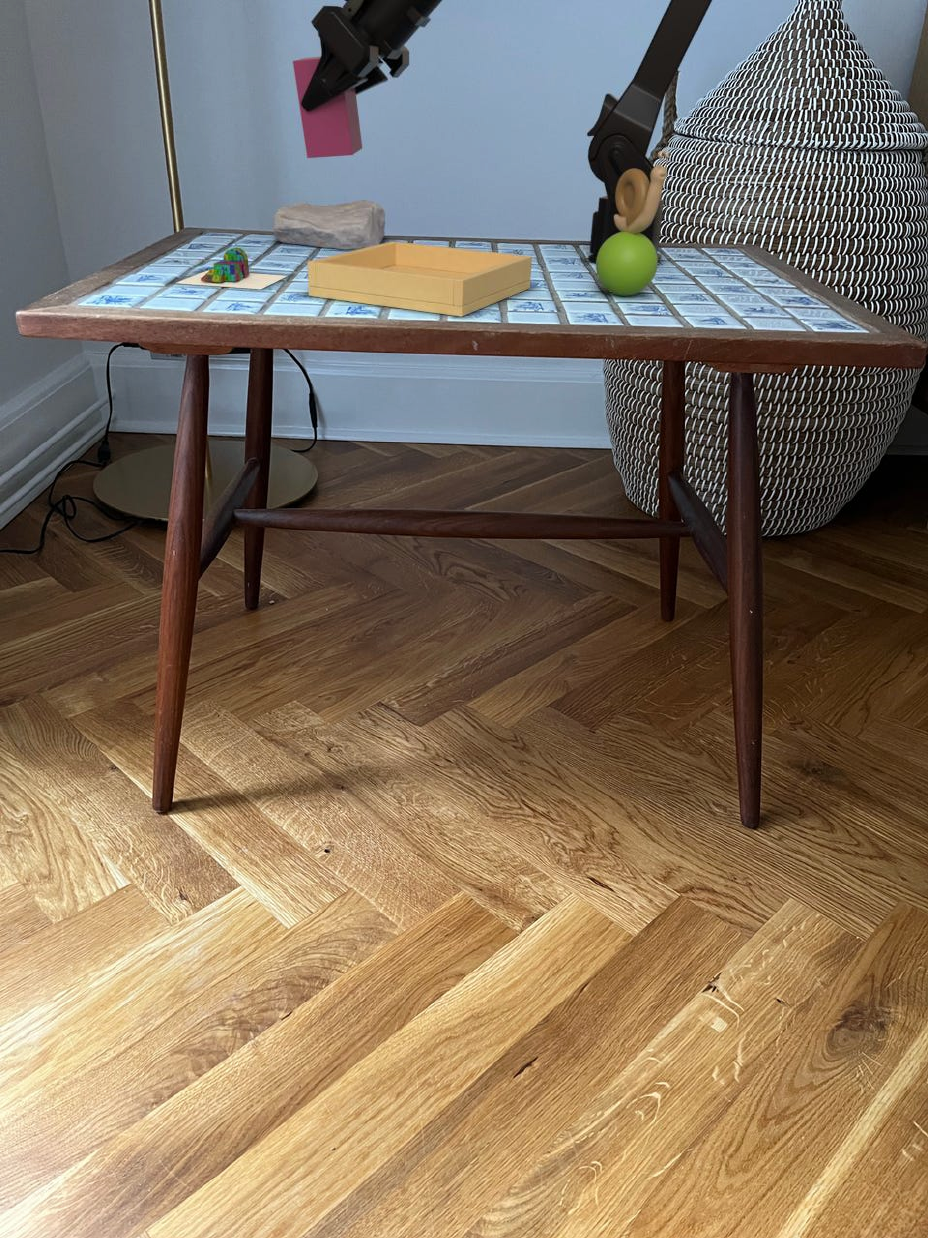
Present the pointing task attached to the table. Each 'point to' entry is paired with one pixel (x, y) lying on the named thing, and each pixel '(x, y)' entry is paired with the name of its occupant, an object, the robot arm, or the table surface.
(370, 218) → the stone block
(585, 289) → the table surface
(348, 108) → the mulberry block
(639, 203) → the snail figurine
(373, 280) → the birch tray
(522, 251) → the table surface
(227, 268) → the patchwork stepped arch
